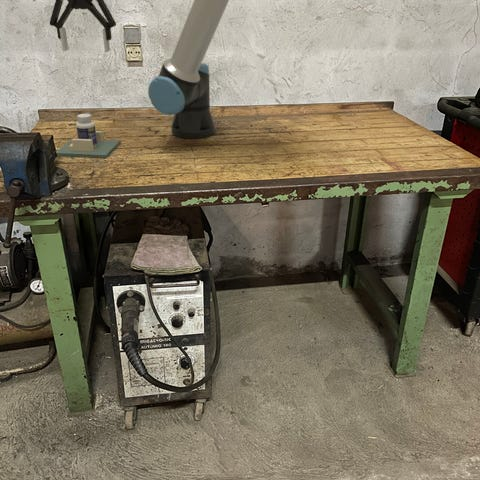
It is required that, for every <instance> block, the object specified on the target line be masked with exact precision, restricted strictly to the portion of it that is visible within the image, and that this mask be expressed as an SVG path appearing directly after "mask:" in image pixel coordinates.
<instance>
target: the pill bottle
mask: <svg viewBox="0 0 480 480" xmlns="http://www.w3.org/2000/svg"><path fill="white" fill-rule="evenodd" d="M76 117H77V121H78V122H76V125H75V126H76V132H77V139H92V141H93V148H94V147H96V146H97V140H96V132H95V131H96V127H95V122H94V121H92V115H91V114H90V113H80V114H78V115H77V116H76Z"/></svg>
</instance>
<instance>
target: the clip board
mask: <svg viewBox="0 0 480 480" xmlns="http://www.w3.org/2000/svg"><path fill="white" fill-rule="evenodd" d="M95 132H96V140H97V146H96V147H94V148H93V141H92V139H78V138H76V137H75V138H74V137H73V138H71V139H69V141H68V142H66V143H65V144H64V145H62V146H61V147H60V148H59V149H57V150H56V151H55V152H56V153H57V156H56V157H65V158H66V157H69V158H70V157H71V158H91V159H93V158H94V159H107V158H108V157H109V156H111V154H113V152H114V151H115V150H116V149H117V148H118V147H119V146H120V145H121V144H122V142H121V140H120V139H119V140H118V139H116V140H115V139H104V138H103V131H101V130H99V131H98V130H95Z"/></svg>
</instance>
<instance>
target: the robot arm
mask: <svg viewBox="0 0 480 480" xmlns="http://www.w3.org/2000/svg"><path fill="white" fill-rule="evenodd" d="M66 1H67V2H68V3H67V5H66V6H65V9H64V11H63V12H62V13H61V9H62V6H63V3H64V0H55V2H54V5H53V9H52V12H51V16H50V19H49V25H50V26H51V27H55V28H56V33H57V38H58V39H59V40H60V41H61V49H62V51H63V52H66V51H68V50H69V49H70V48H69V43H68V36H67V30H66V29H67V28H66V27H64V24H66V22H67V20H68V18H69V17H70V14H71V13H72V11H73V10H88V11H89V12H90V13H91V15H93V16H94V17H95V18H96V20H97V21H98V22H99V23H100V24H101V26H102V27H103V28H102V30H101V31H102V38H103V46H104V53H108V52H110V51H111V47H110V45H111V44H110V41H111V40H112V39H113V38H112V30H111V29H112V28H113V27H116V26H117V23H116V20H115V19H114V16H113V15H112V13H111V12H110V10H109V8H108V6H107V4H106V2H105V0H95V2H96V3H97V5H98V6H99V8H100V9H101V11H102V13H101V12H100V11H99V9H97V7H96V6H95V4H94V3H93V0H66ZM229 1H230V0H193V3H192V5H191V7H190V10H189V12H188V14H187V17H186V19H185V22H184V25H183V27H182V30H181V32H180V35H179V37H178V40H177V42H176V45H175V48H174V50H173V53H172V54H171V58H169V59H168V58H167V59H165V60H164V61H163V64H162V66H161V68H160V71H159V74H158V75H157V76H156V77H154V78H153V79H152V80H151V81H150V83H149V85H148V89H147V92H148V93H147V94H148V98H149V100H150V104H151V105H152V107H154V109H156V111H158V112H159V113H161V114H164V115H166V116H167V115H168V116H171V115H173V118H172V120H171V121H172V122H171V127H170V129H171V131H170V132H171V134H172V135H173V136H175V137H177V138H183V139H203V138H209V137H210V136H213V135H214V134H216V124H215V121H214V119H213V116H212V112H211V108H210V106H211V105H210V104H211V103H210V102H211V101H210V99H211V98H210V96H211V95H210V76H211V75H210V69H209V66H208V64H206V63H204V62H203V60H204V58H205V56H206V54H207V51H208V48H209V47H210V44H211V42H212V39H213V38H214V35H215V33H216V30H217V28H218V27H219V24H220V21H221V20H222V17H223V15H224V12H225V10H226V7H227V6H228V3H229ZM60 13H61V15H60ZM102 14H103V15H102Z"/></svg>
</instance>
